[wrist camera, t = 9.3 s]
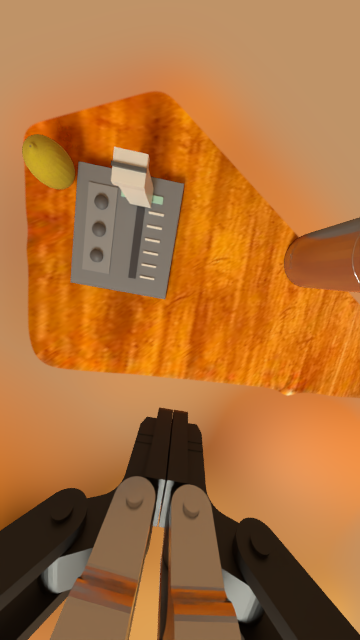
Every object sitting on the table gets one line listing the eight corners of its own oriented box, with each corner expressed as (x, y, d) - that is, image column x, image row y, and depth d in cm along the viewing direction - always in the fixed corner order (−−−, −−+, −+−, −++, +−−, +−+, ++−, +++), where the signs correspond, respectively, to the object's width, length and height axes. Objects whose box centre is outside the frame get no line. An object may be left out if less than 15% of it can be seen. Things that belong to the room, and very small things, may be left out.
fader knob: (156, 186, 30) (148, 152, 22) (152, 210, 31) (144, 187, 23) (130, 180, 30) (112, 145, 22) (127, 205, 31) (109, 179, 22)
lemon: (59, 150, 31) (19, 108, 23) (90, 174, 32) (61, 139, 24) (43, 183, 32) (-1, 152, 24) (73, 205, 33) (40, 181, 25)
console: (183, 189, 33) (184, 182, 30) (165, 297, 37) (164, 299, 34) (84, 168, 32) (76, 158, 29) (76, 281, 36) (68, 282, 33)
